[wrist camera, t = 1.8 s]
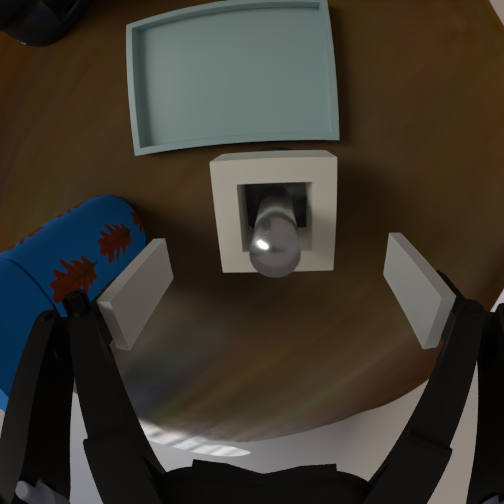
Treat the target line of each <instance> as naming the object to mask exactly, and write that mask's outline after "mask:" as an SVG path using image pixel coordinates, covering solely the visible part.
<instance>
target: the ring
mask: <svg viewBox="0 0 504 504" xmlns="http://www.w3.org/2000/svg"><path fill="white" fill-rule="evenodd" d="M210 171H211V181H212V190H213V199H214V207H215V216H216V224H217V232H218V240H219V248H220V255H221V263H222V270H223V273H229V272H258V271H257V270H256V269H255V268H254V267H253V265H252V264H251V261H250V257H249V252H250V247H251V242H252V237H253V233H254V229H249V225H248V212H247V199H246V187H245V184H257V183H285V182H306V227H297V232H298V238H299V245H300V251H301V258H300V262H299V264H298V266H297V267H296V269H295V270H294V271H324V270H333V265H334V250H335V233H336V208H337V157H336V156H334V155H333V154H331V153H329V152H328V151H326V150H288V151H262V152H244V153H230V154H222V155H220V156H219V157H217V158H215V159H214V160H212V161H211V162H210Z"/></svg>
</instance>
